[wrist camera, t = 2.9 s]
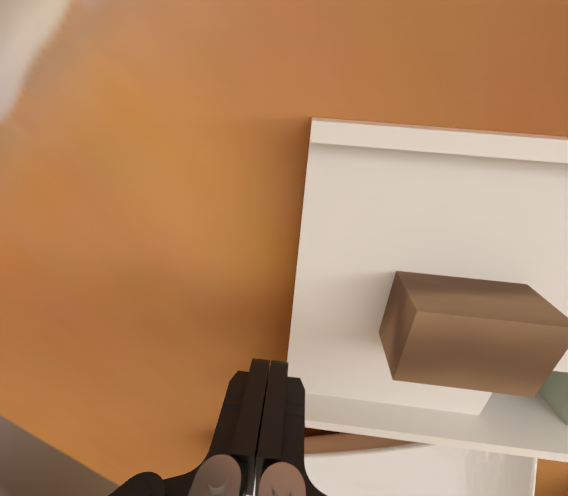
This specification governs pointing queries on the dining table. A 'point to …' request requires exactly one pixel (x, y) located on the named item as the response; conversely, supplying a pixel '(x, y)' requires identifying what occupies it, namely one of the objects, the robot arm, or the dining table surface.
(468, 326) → the walnut block
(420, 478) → the square plate
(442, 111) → the dining table surface
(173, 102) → the dining table surface
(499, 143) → the box
